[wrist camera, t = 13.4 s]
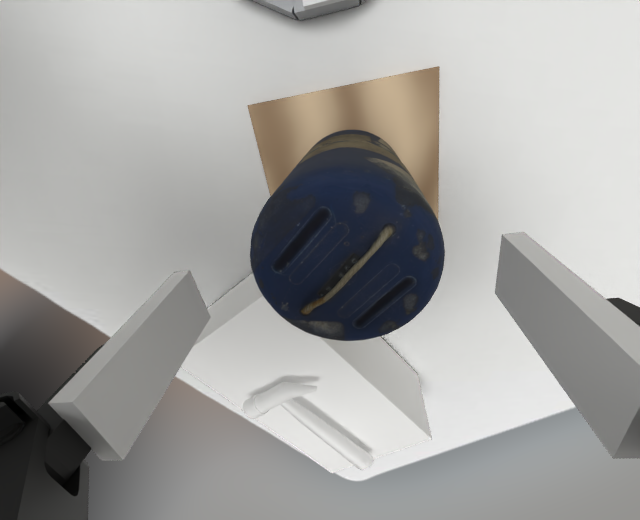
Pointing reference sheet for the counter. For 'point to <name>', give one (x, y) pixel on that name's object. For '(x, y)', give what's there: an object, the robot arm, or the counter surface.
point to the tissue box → (309, 383)
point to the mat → (356, 124)
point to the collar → (308, 7)
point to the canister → (348, 241)
